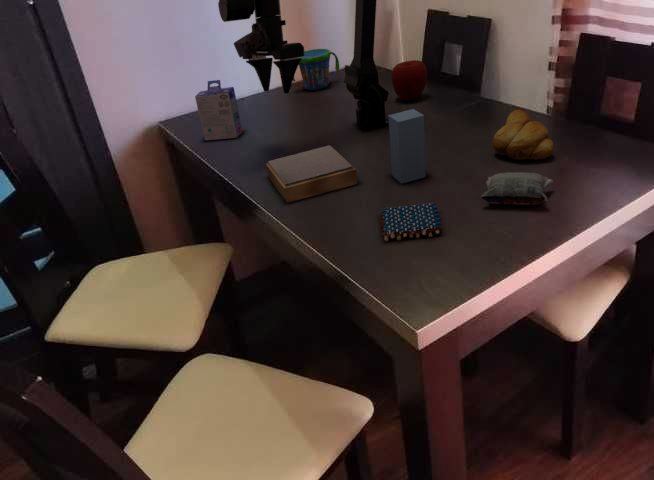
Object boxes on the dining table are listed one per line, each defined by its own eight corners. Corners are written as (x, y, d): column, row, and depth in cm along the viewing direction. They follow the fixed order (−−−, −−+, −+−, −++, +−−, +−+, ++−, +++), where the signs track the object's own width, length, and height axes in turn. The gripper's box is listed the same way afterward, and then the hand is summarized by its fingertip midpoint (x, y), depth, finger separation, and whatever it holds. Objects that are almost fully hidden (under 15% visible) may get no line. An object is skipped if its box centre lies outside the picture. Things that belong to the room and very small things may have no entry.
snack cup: (336, 78, 201) (332, 44, 195) (345, 85, 193) (342, 50, 187) (289, 88, 200) (284, 55, 194) (297, 97, 192) (291, 62, 186)
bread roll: (563, 155, 129) (567, 116, 124) (527, 170, 126) (530, 131, 121) (517, 141, 139) (519, 104, 134) (483, 154, 136) (484, 117, 131)
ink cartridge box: (243, 131, 174) (232, 77, 165) (238, 138, 170) (227, 83, 161) (210, 134, 176) (198, 81, 168) (204, 141, 172) (191, 87, 163)
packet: (415, 169, 135) (413, 108, 127) (425, 177, 131) (424, 115, 123) (392, 175, 134) (388, 115, 127) (401, 183, 131) (398, 121, 123)
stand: (333, 160, 147) (331, 143, 144) (357, 184, 134) (355, 166, 132) (268, 177, 145) (265, 161, 142) (286, 203, 132) (283, 185, 129)
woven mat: (380, 216, 120) (379, 206, 119) (436, 210, 119) (436, 200, 117) (382, 242, 112) (381, 232, 111) (442, 236, 110) (442, 226, 109)
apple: (392, 95, 178) (390, 58, 172) (426, 91, 176) (425, 53, 170) (392, 106, 170) (390, 68, 165) (428, 102, 169) (427, 63, 163)
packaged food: (487, 188, 123) (488, 164, 119) (552, 190, 118) (555, 165, 115) (479, 209, 117) (480, 184, 114) (547, 212, 112) (549, 186, 109)
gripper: (217, 22, 141) (227, 95, 149) (256, 18, 127) (266, 100, 134) (259, 17, 146) (267, 88, 153) (302, 13, 131) (309, 91, 139)
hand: (276, 92), depth 145 cm, fingers open, 9 cm apart
